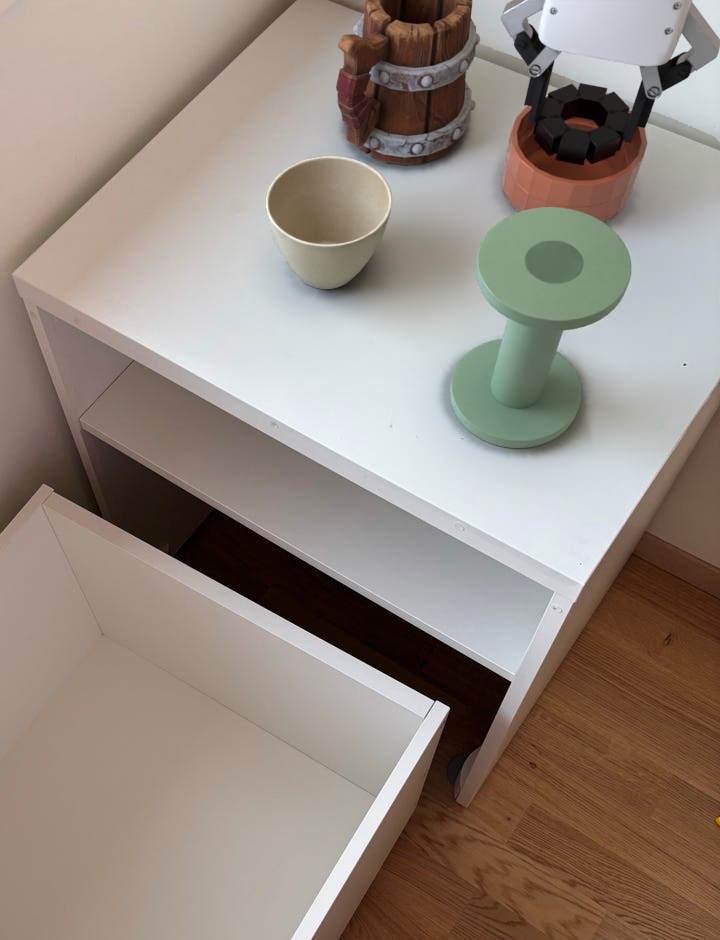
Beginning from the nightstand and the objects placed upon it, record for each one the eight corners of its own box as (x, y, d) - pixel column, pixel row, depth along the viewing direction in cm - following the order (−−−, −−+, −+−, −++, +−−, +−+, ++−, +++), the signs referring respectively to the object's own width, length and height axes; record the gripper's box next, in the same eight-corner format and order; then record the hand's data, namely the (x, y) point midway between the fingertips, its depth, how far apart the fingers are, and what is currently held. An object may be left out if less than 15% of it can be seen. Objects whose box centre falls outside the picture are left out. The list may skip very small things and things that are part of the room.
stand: (591, 363, 80) (645, 224, 67) (562, 462, 76) (614, 335, 63) (468, 333, 81) (498, 193, 69) (434, 429, 78) (460, 300, 65)
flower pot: (388, 310, 83) (395, 244, 76) (268, 313, 84) (265, 248, 77) (383, 222, 87) (389, 152, 81) (269, 226, 88) (266, 156, 81)
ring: (631, 112, 83) (637, 93, 82) (613, 172, 81) (619, 153, 79) (545, 96, 85) (550, 77, 83) (525, 154, 82) (530, 135, 81)
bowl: (640, 156, 89) (658, 105, 84) (614, 244, 84) (632, 196, 80) (517, 132, 91) (529, 81, 86) (487, 217, 87) (497, 168, 82)
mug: (505, 112, 91) (518, -40, 77) (401, 219, 90) (395, 84, 76) (408, 57, 95) (403, -97, 81) (306, 159, 94) (284, 20, 80)
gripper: (796, -131, 65) (698, 111, 82) (534, -167, 69) (490, 72, 85) (779, -61, 63) (681, 175, 79) (507, -103, 66) (466, 132, 82)
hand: (582, 120), depth 82 cm, fingers closed on ring, 7 cm apart
